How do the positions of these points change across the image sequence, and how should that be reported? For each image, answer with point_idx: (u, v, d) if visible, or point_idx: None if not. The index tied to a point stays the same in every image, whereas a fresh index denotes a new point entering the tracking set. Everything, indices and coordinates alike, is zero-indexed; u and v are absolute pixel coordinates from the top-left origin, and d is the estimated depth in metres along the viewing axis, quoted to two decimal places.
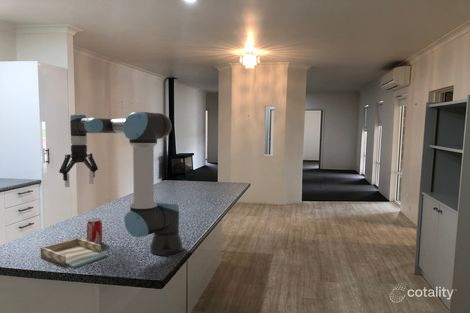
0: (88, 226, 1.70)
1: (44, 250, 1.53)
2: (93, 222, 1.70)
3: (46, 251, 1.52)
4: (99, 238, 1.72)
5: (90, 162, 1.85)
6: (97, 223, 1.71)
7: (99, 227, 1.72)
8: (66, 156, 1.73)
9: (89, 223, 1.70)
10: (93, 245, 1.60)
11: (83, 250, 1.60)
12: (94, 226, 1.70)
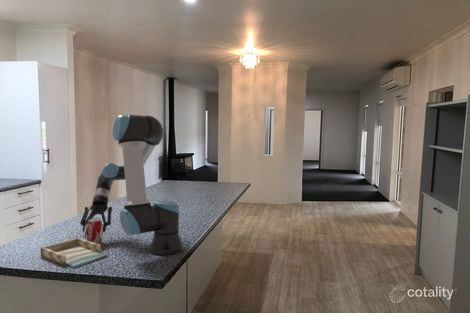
0: (88, 226, 1.70)
1: (44, 250, 1.53)
2: (93, 222, 1.70)
3: (46, 251, 1.52)
4: (99, 238, 1.72)
5: None
6: (97, 223, 1.71)
7: (99, 227, 1.72)
8: (85, 209, 1.79)
9: (89, 223, 1.70)
10: (93, 245, 1.60)
11: (83, 250, 1.60)
12: (94, 226, 1.70)
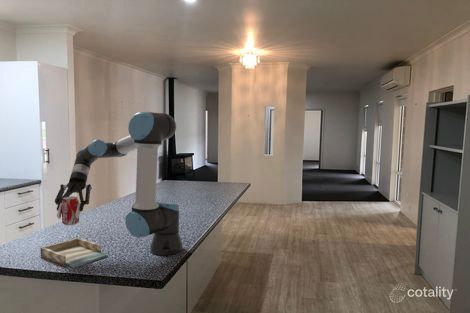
0: (63, 204, 1.53)
1: (44, 250, 1.53)
2: (68, 200, 1.53)
3: (46, 251, 1.52)
4: (75, 218, 1.54)
5: None
6: (73, 201, 1.53)
7: (75, 206, 1.54)
8: None
9: (64, 201, 1.53)
10: (93, 245, 1.60)
11: (83, 250, 1.60)
12: (69, 204, 1.52)
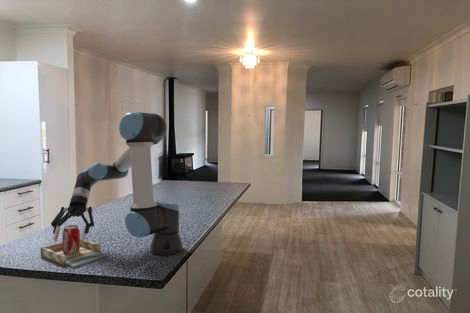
0: (64, 234, 1.53)
1: (44, 250, 1.53)
2: (69, 229, 1.53)
3: (46, 251, 1.52)
4: (76, 247, 1.55)
5: None
6: (74, 231, 1.54)
7: (76, 235, 1.55)
8: None
9: (65, 231, 1.53)
10: (93, 245, 1.60)
11: (83, 250, 1.60)
12: (70, 234, 1.53)
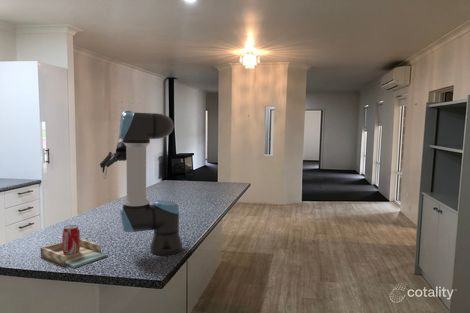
0: (64, 234, 1.53)
1: (44, 250, 1.53)
2: (69, 229, 1.53)
3: (46, 251, 1.52)
4: (76, 247, 1.55)
5: None
6: (74, 230, 1.54)
7: (76, 235, 1.55)
8: None
9: (65, 230, 1.54)
10: (93, 245, 1.60)
11: (83, 250, 1.60)
12: (70, 234, 1.53)
